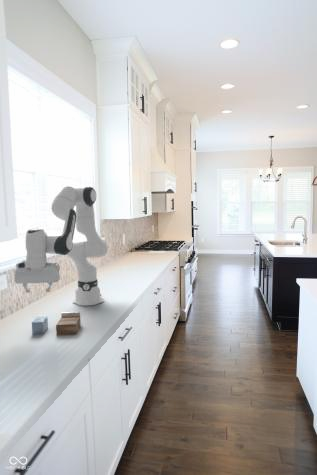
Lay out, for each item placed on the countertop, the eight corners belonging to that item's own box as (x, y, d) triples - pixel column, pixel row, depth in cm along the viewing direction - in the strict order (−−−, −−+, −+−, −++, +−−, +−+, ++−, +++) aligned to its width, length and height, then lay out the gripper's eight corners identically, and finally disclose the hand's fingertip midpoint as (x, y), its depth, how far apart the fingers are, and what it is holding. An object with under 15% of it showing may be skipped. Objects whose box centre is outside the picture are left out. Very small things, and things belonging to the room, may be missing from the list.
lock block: (37, 328, 163) (36, 316, 162) (48, 328, 163) (47, 316, 163) (32, 335, 155) (31, 322, 154) (43, 334, 155) (42, 322, 155)
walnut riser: (62, 326, 166) (61, 312, 165) (80, 325, 166) (80, 311, 166) (56, 335, 154) (55, 320, 153) (76, 334, 154) (75, 319, 154)
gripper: (60, 261, 160) (62, 289, 161) (17, 262, 158) (18, 291, 160) (57, 263, 153) (59, 293, 155) (12, 264, 152) (13, 294, 153)
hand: (38, 292), depth 157 cm, fingers open, 8 cm apart
